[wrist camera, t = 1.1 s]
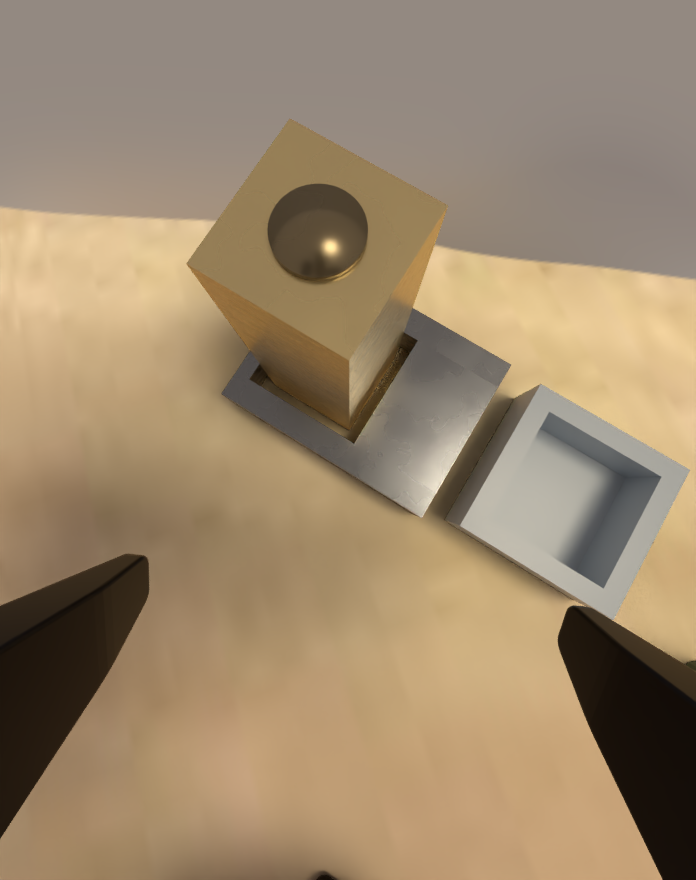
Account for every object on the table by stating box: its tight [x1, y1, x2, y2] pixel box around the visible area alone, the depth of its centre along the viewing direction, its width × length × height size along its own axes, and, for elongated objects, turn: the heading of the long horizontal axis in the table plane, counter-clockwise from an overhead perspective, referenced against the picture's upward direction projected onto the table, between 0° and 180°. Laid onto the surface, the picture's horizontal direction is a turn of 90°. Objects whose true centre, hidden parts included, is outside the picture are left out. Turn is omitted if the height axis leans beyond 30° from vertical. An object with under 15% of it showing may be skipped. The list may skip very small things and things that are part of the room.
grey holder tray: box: [222, 308, 511, 518], centre depth 21 cm, size 12×9×2 cm
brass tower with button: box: [187, 119, 448, 431], centre depth 16 cm, size 5×5×12 cm
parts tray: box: [445, 384, 690, 620], centre depth 20 cm, size 8×8×3 cm
